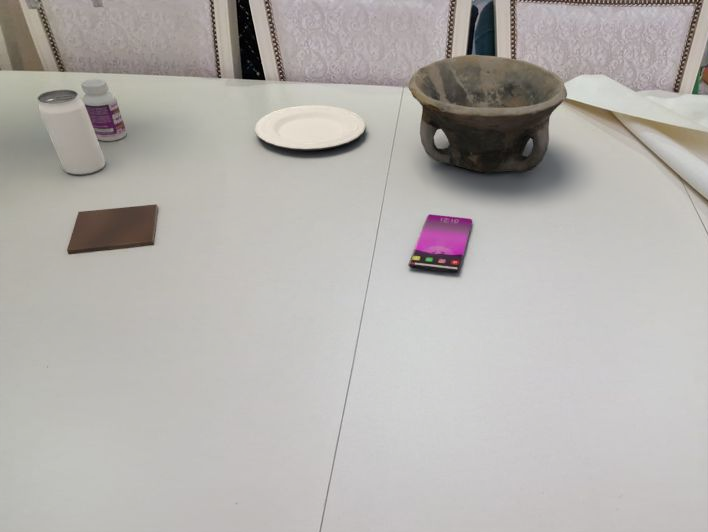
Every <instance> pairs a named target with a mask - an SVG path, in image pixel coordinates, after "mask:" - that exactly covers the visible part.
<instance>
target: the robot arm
mask: <svg viewBox="0 0 708 532" xmlns="http://www.w3.org/2000/svg"><path fill="white" fill-rule="evenodd" d="M24 1H25V3H26V6H27V9H28V10H40V9H41V7H42V6H41V3H40V1H39V0H24ZM91 2H92V6H93V9H94V8H105V0H91Z"/></svg>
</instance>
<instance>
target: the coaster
mask: <svg viewBox="0 0 708 532" xmlns="http://www.w3.org/2000/svg"><path fill="white" fill-rule="evenodd" d="M157 217H158V204H156V203H155V204H146V205H145V204H144V205H136V206H135V205H134V206H125V207H124V206H123V207H115V208H113V207H112V208H104V209H93V210H84V211H78V212H77V215H76V219H75V222H74V226H73V228H72V232H71V236H70V239H69V243H68V246H67V249H66V252H67V254H69V255H70V254H71V255H72V254H79V253H87V252H97V251H105V250H106V251H107V250H115V249H125V248H132V247H133V248H134V247H143V246H151V245H152V246H153V245H154V242H155V236H156V235H155V234H156V225H157Z"/></svg>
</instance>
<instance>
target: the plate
mask: <svg viewBox="0 0 708 532" xmlns="http://www.w3.org/2000/svg"><path fill="white" fill-rule="evenodd" d="M365 130H366V122H365V120H364V119H363V118H362V117H361V116H360V115H358V114H357V113H356V112H353V111H351V110H348V109H345V108H342V107H336V106H330V105H319V104H318V105H317V104H316V105H314V104H311V105H310V104H309V105H298V106H291V107H285V108H281V109H278V110H275V111H272V112H269V113H268V114H266V115H264V116H263V117H261V118H259V120H258V121H257V122H256V124H255V125H254V133H255V134H256V137H258V138H259V139H260V140H261V141H263V142H265V143H266V144H268V145H272V146H274V147H277V148H280V149H288V150H293V151H294V150H296V151H311V152H312V151H322V150H329V149H334V148H337V147H341V146H344V145H348V144H351V143H353V142H354V141H356V140H357V139H359V138H360V137H361V136H362V135H363V134H364V133H365Z"/></svg>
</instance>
